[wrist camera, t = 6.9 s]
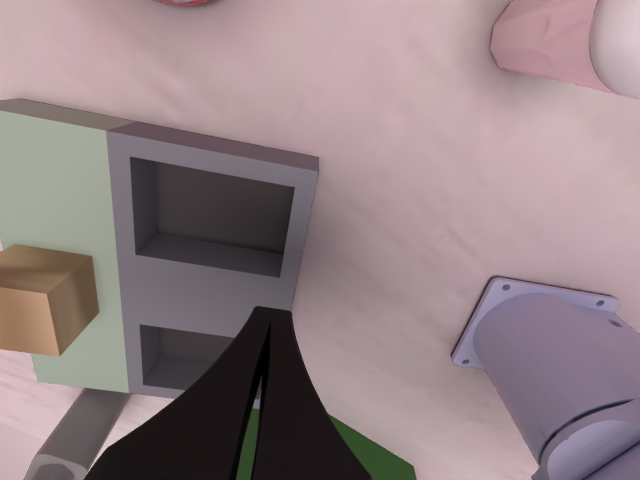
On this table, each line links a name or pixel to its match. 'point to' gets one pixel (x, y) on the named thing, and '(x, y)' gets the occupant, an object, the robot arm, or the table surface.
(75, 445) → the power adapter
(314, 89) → the table surface
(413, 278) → the table surface
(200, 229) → the box
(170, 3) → the soda can
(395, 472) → the hardback book
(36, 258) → the maple block
